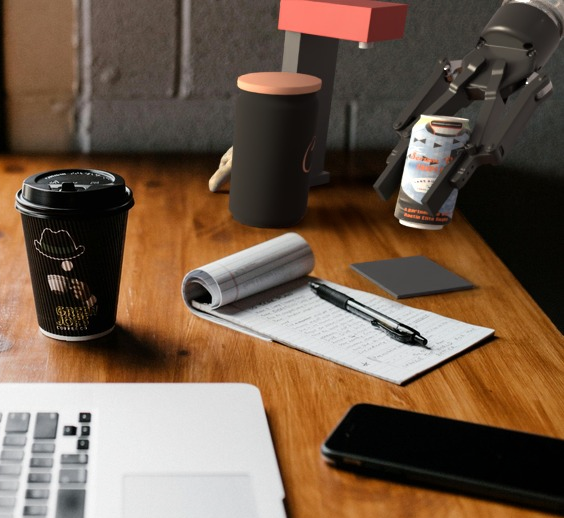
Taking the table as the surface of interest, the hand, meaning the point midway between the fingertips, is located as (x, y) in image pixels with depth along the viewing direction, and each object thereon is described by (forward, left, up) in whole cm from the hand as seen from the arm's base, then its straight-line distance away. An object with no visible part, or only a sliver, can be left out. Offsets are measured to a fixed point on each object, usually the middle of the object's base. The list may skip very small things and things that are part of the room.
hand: (403, 200), depth 93 cm
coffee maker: (-10, -34, -10) cm, 37 cm away
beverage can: (-3, -1, -4) cm, 5 cm away
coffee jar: (+3, -26, -10) cm, 28 cm away
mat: (-3, -1, -10) cm, 10 cm away
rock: (0, -46, -10) cm, 47 cm away
